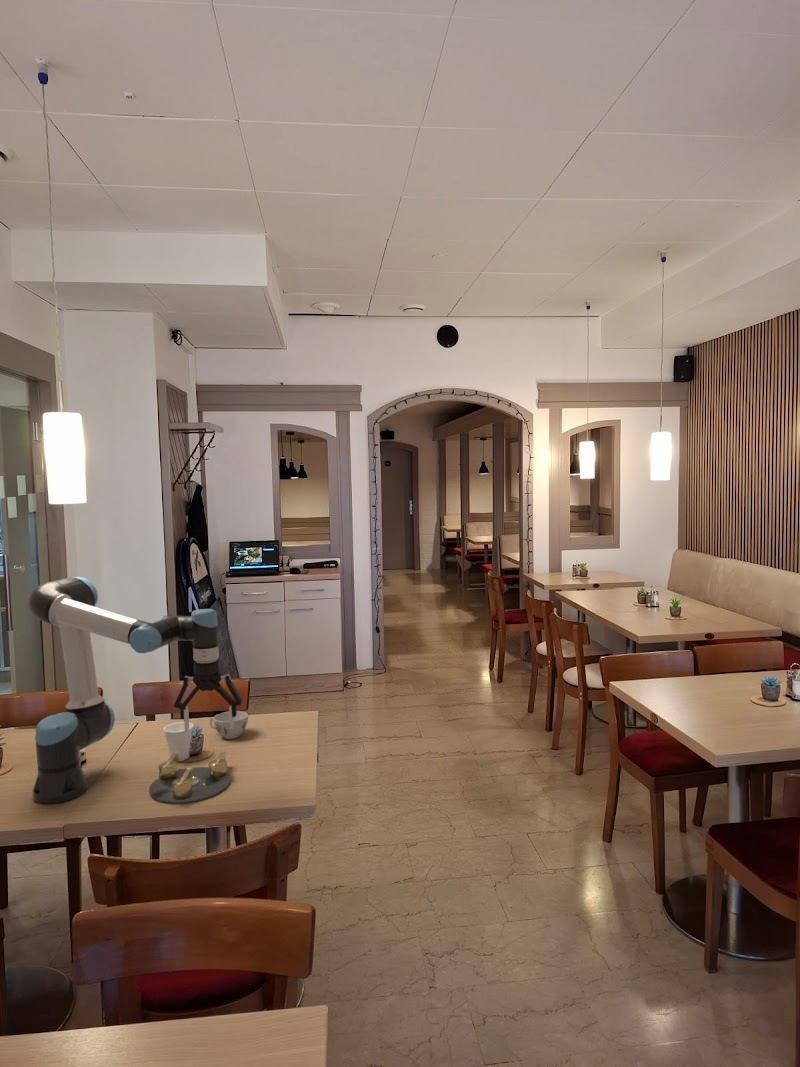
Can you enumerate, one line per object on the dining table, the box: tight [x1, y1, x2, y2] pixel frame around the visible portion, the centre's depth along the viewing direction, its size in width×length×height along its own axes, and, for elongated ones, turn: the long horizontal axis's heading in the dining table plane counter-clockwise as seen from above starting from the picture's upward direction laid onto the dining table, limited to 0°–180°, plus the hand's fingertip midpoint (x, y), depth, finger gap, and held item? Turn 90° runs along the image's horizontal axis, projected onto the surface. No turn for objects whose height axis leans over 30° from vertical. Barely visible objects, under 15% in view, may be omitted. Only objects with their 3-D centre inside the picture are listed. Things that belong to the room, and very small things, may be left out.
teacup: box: [209, 710, 249, 740], centre depth 262 cm, size 15×12×8 cm
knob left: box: [158, 751, 179, 781], centre depth 227 cm, size 13×6×4 cm, turn 3°
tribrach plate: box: [148, 766, 231, 805], centre depth 220 cm, size 24×24×2 cm
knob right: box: [208, 748, 228, 779], centre depth 228 cm, size 13×6×4 cm, turn 3°
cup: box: [162, 721, 194, 762], centre depth 242 cm, size 10×10×11 cm
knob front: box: [172, 766, 194, 799], centre depth 214 cm, size 13×6×4 cm, turn 3°
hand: (209, 728), depth 217 cm, fingers open, 13 cm apart
